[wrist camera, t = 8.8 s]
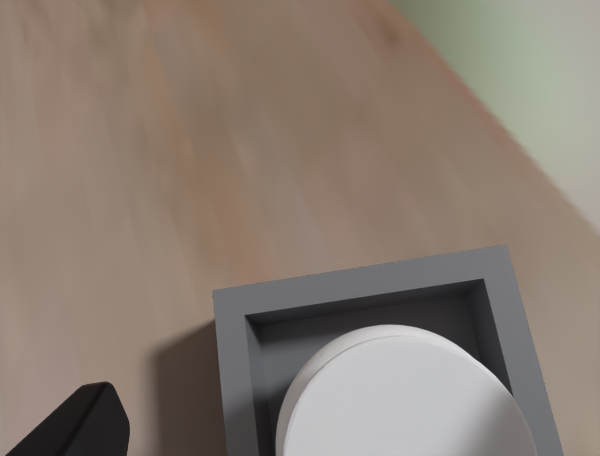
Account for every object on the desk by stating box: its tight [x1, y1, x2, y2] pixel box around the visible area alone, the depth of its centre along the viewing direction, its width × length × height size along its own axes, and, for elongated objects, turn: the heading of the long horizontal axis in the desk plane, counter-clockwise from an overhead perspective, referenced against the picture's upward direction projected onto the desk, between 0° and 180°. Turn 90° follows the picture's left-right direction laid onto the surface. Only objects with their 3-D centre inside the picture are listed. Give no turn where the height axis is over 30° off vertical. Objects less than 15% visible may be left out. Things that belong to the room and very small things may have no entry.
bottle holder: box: [212, 244, 564, 456], centre depth 18 cm, size 10×10×4 cm
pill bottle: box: [276, 325, 538, 456], centre depth 14 cm, size 6×6×10 cm
